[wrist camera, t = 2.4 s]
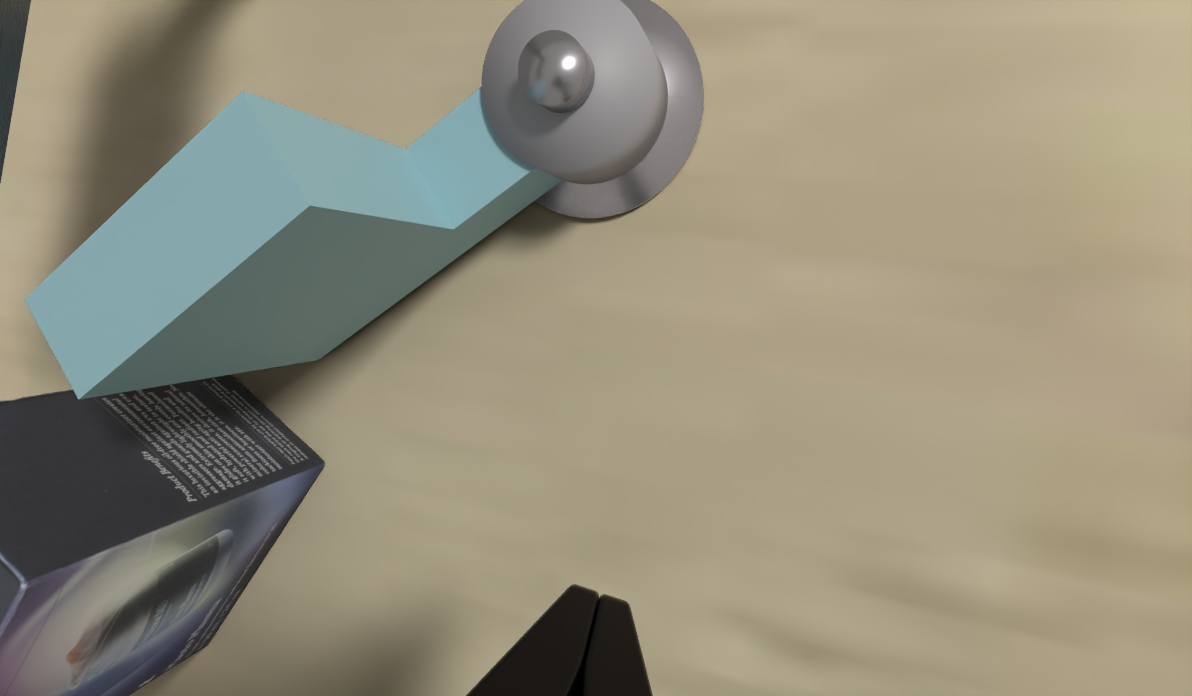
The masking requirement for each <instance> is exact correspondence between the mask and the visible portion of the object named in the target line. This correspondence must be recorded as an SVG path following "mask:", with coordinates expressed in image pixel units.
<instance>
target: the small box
mask: <svg viewBox="0 0 1192 696" xmlns="http://www.w3.org/2000/svg"><path fill="white" fill-rule="evenodd" d="M324 466H325V462H324V461H323V460H322V459H321V458H320V457H319V455H317V454H316V453H315V452H314V451H313V450H312V449H311V448H310V447H308V445H307V444H306V443H304V442H303V441H302V440H301V439H300V438H299V437H298V436H297V435H296V434H295V433H294V432H292V431H291V430H290V429H289V428H288V427H287V426H286V425H285V424H284V423H283V422H282V421H281V420H280V419H278V418H277V417H276V416H275V415H274V414H273V413H272V412H271V411H270V410H269V409H267V408H266V407H265V406H264V405H263V404H262V403H261V402H260V401H259V400H258V399H256V398H255V397H254V396H253V395H252V394H251V393H250V392H249V391H248V390H246V389H245V388H244V387H243V386H242V385H241V384H240V383H239V382H238V381H237V380H236V379H234V378H233V377H232V376H231V375H224V376H218V377H212V378H206V379H200V380H194V381H188V382H182V383H176V384H170V385H164V386H158V387H152V388H146V389H140V390H134V391H128V392H122V393H116V394H110V395H103V396H97V397H91V398H85V399H78V398H77V396H76V394H75V392H74V390H67V391H60V392H53V393H45V394H41V395H36V396H30V397H22V398H18V399H15V400H3V401H0V696H129V695H131V694H132V693H134V692H135V691H137V690H138V689H140V688H141V687H143V686H145V685H146V684H148V683H149V682H151V681H152V680H154V679H155V678H157V677H159V676H160V675H162V674H163V673H165V672H166V671H168V670H169V669H171V668H173V667H174V666H176V665H177V664H179V663H180V662H182V661H183V660H185V659H187V658H188V657H190V656H191V655H193V654H194V653H196V652H197V651H199V650H201V649H202V648H204V647H205V646H207V644H208V643H209V642H210V640H211V639H212V637H213V636H214V634H215V632H216V631H217V629H218V628H219V626H220V625H221V623H222V622H223V620H224V619H225V617H226V616H227V614H228V613H229V611H230V610H231V608H232V607H233V605H234V603H235V602H236V600H237V599H238V597H239V596H240V594H241V593H242V591H243V589H244V588H245V587H246V585H247V583H248V582H249V580H250V579H251V577H252V576H253V574H254V573H255V571H256V570H257V568H258V567H259V565H260V563H261V562H262V560H263V559H264V557H265V556H266V554H267V553H268V551H269V550H270V548H271V547H272V545H273V544H274V542H275V541H276V539H277V538H278V536H279V535H280V533H281V532H282V530H283V528H284V527H285V525H286V524H287V522H288V520H289V519H290V517H291V516H292V514H293V513H294V512H295V510H296V509H297V507H298V506H299V504H300V502H301V501H302V499H303V498H304V496H305V495H306V493H307V492H308V490H309V489H310V487H311V486H312V484H313V483H314V481H315V480H316V478H317V477H318V475H319V473H320V472H321V471H322V469H323V468H324Z"/></svg>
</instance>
